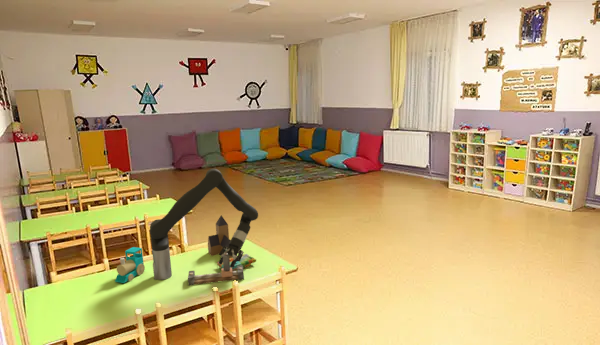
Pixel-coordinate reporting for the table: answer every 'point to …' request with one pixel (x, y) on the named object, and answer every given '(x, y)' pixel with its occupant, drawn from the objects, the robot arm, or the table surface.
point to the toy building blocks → (219, 238)
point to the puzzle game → (240, 262)
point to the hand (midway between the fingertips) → (225, 265)
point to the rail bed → (214, 277)
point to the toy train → (130, 265)
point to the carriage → (226, 267)
